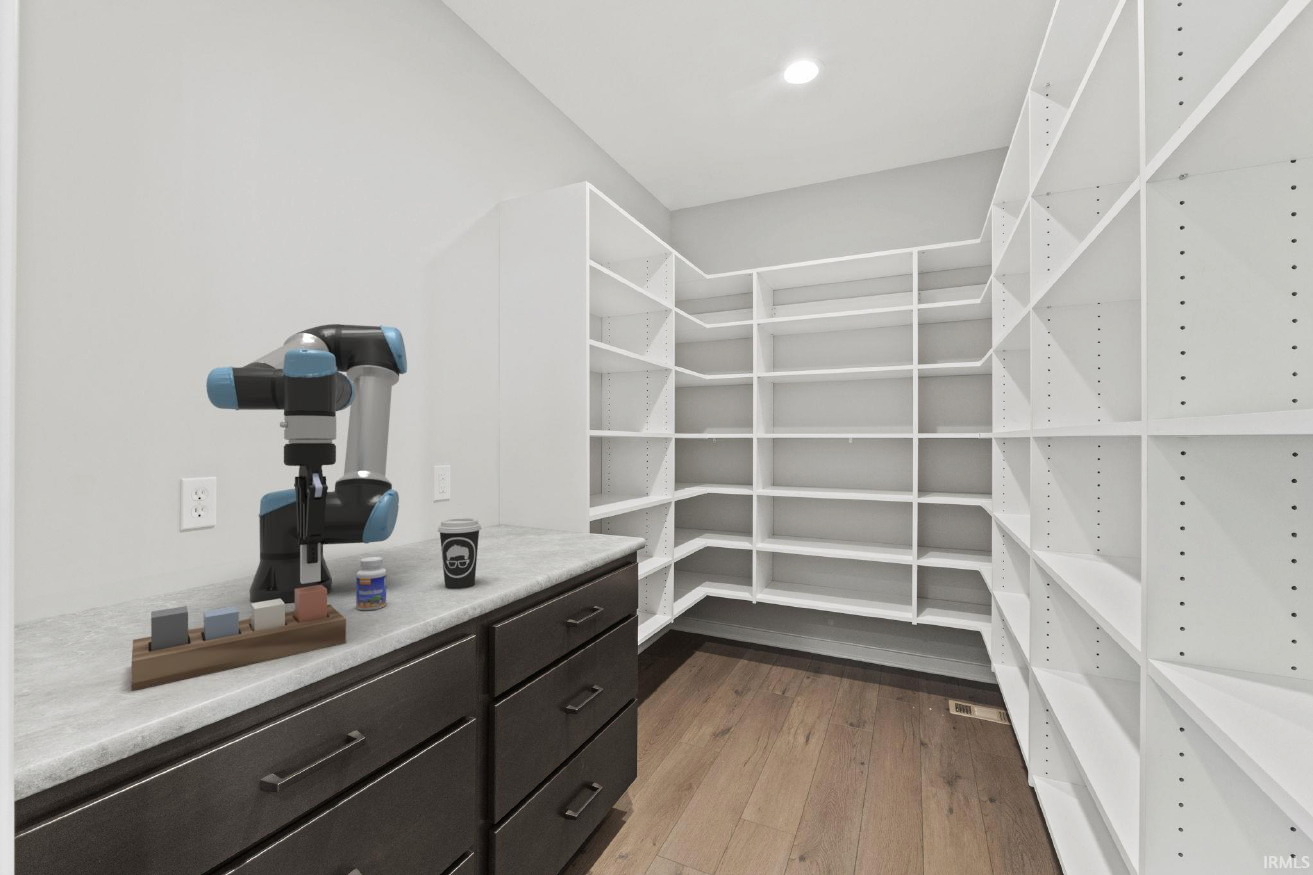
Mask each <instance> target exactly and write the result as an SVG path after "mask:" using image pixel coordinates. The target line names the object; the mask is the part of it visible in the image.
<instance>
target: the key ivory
mask: <svg viewBox="0 0 1313 875" xmlns="http://www.w3.org/2000/svg"><path fill="white" fill-rule="evenodd" d="M250 610H251V611H250V615H251V616H250V619H251V629H252V631H253V632H254V631H259V630H264V629H269V628H274V627H280V626H285V612H286V602H285V603H284V602H283V601H282V600H281V599H275V600H269V601H263V602H251V603H250Z"/></svg>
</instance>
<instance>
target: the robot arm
mask: <svg viewBox="0 0 1313 875" xmlns="http://www.w3.org/2000/svg"><path fill="white" fill-rule="evenodd" d="M407 372H408V362H407V352H406V346H405V342H404V338H403V335H402V332H401V330H399V329H398V328H397V327H392V326H383V325H379V326H377V325H376V326H375V325H355V324H340V323H333V324H324V325H317V326H313V327H310V328H307V329H305V330H302V331H301V330H300V331H298V332H296V333H295V334H292V335H290V336H289V337H288V338H287V339H286V340H285V341H284V343H283V345H282V346H280V347H278V348H276V349H275V350H272V351H270V352H269V353H267V354H265V355H263V356H261V357H259V358H257V359H256V360H253V361H251V362H250V363H248V364H246V365H244V366H241V367H234V366H227V367H226V366H222V367H215V368H213V369H212V370H211V371H209V373H208V375H207V379H206V394H207V398H208V401H209V402H210V403H211V404H212V405H213V406H214V407H215V408H218V409H221V410H235V411H245V410H246V411H248V410H249V411H254V410H256V411H259V410H260V411H263V410H266V411H267V410H268V411H269V410H271V411H272V410H273V411H277V410H278V411H279V410H280V411H283V418H284V421H280V422H279V427H280V428H284V430H283V431H284V432H283V439H285V440H286V441H288V443H285V445H284V446H283V464H284V465H285V466H289V467H299V468H298V476H294V484H293V486H294V488H290V489H284V490H278V491H272V492H268V493H266V494H264V495H262V497H261V499H260V502H259V513H258V518H259V563H258V566H257V569H256V571H255V574H254V577H253V581H252V582H251V585H250V588H249V601H250V602H251V603H256V602H263V601H269V600H275V599H281V600H282V601H283V602H284V603H285V604H286V603H291V602H295V589H297V588H304V587H310V586H316V585H323V586H324V587H325V588H326V589H327V594H328V593H329V592H331V591H332V590H333V579H332V578H333V577H332V575H331V572H330V570H329V567H328V565H327V564H328V563H326V559H325V557H324V545H343V544H346V545H347V544H362V543H363V544H366V545H367V544H370V543H377V542H383V541H386V540H388V539H389V538H390V537H391V536H392V534H393V532H394V530H395V526H396V522H397V519H398V514H399V508H400V506H399V502H400V496H399V493H398V491H397V490H394V489H392V488H393V483H392V482H391V481H390V480H389V479H388V478H387V477H386V472H387V471H386V470H387V459H388V458H387V456H388V444H389V431H390V429H389V428H390V418H391V417H390V415H391V403H392V388H393V387H394V386H395V385H396V384H398V383H399V380H400V375H404V374H406V373H407ZM344 373H346V375H345V374H344ZM348 407H349V408H350V409H349V417H348V418H349V419H348V429H347V439H346V448H345V449H346V450H345V457H344V458H345V459H344V461H345V462H344V471H343V475H342V477H340V478H338V480H336V481H335V484H334V490H333V491H328V490H329V486H328V484H327V476H325V475H323V474H324V473H323V466H333V465H335V464H336V462H337V445H336V444H335V443H333V441H335V440H336V439H337V416H336V414H337V412H339V411H344V410H345V409H347V408H348Z"/></svg>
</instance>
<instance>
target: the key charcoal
mask: <svg viewBox="0 0 1313 875" xmlns="http://www.w3.org/2000/svg"><path fill="white" fill-rule="evenodd" d="M150 615H151V619H150V620H151V621H150V626H151V627H150V628H151V630H150V632H151V633H150V634H151V636H150V637H151V651H155V650H160V649H166V648H171V647H176V646H181V645H186V644H188V630H189V610H188V606H187V605H184V606H177V607H172V608H165V609H160V610H153V611H150Z"/></svg>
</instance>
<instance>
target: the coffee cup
mask: <svg viewBox="0 0 1313 875" xmlns="http://www.w3.org/2000/svg"><path fill="white" fill-rule="evenodd" d="M478 520H479V519H478V518H470V517H460V518H450V519H449V518H448V519H444V520H441V522H440V525H439V526H438V529H437V532H439V538H440V547H441V557H442V567H443V568H442V569H443V578H444V579H443V582H444V587H445V589H449V590H461V589H467V588H472V587H473V586H474V585H475V584H476V570H477V560H478V559H477V558H478V548H479V538H480V537H479V536H480V530H482V526H481V524H480V523H479V521H478Z"/></svg>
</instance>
